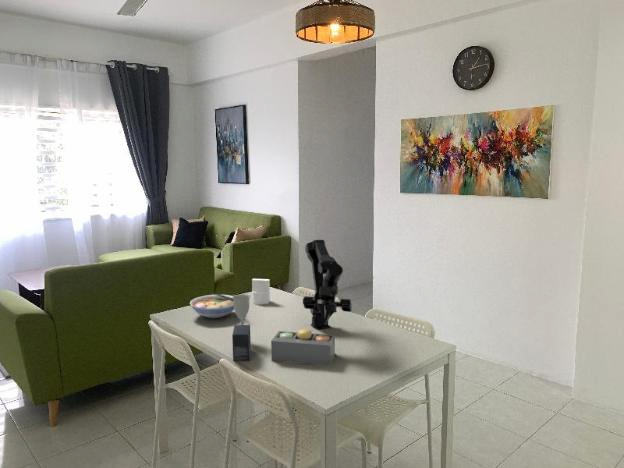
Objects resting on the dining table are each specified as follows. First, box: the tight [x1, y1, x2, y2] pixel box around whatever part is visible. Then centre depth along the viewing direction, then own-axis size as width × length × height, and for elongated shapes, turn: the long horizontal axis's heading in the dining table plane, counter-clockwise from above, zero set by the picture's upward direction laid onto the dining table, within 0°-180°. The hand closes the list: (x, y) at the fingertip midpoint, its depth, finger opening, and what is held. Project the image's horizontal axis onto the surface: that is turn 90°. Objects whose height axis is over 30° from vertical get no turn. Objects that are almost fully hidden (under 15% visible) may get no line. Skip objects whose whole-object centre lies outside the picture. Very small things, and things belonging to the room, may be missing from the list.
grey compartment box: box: [270, 330, 336, 366], centre depth 180 cm, size 11×22×8 cm, turn 78°
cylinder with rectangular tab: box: [251, 278, 271, 306], centre depth 250 cm, size 9×9×12 cm
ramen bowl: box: [189, 292, 235, 319], centre depth 227 cm, size 25×23×8 cm
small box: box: [231, 324, 252, 362], centre depth 181 cm, size 11×6×10 cm, turn 5°
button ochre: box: [297, 328, 312, 340], centre depth 181 cm, size 5×5×3 cm
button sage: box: [280, 331, 293, 339], centre depth 183 cm, size 5×5×3 cm
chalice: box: [232, 293, 251, 325], centre depth 197 cm, size 7×7×18 cm
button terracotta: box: [316, 334, 330, 342], centre depth 180 cm, size 5×5×3 cm
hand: (324, 323), depth 183 cm, fingers closed
